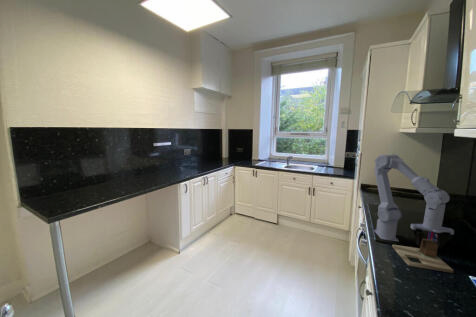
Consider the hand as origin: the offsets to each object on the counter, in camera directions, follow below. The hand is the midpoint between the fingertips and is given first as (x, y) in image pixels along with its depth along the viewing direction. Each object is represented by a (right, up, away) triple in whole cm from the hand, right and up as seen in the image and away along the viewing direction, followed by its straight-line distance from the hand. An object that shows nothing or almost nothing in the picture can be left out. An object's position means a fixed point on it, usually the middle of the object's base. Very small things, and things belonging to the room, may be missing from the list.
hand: (428, 246), depth 87 cm
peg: (0, -4, 0) cm, 4 cm away
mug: (+18, -4, +15) cm, 24 cm away
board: (-5, -5, -1) cm, 7 cm away
